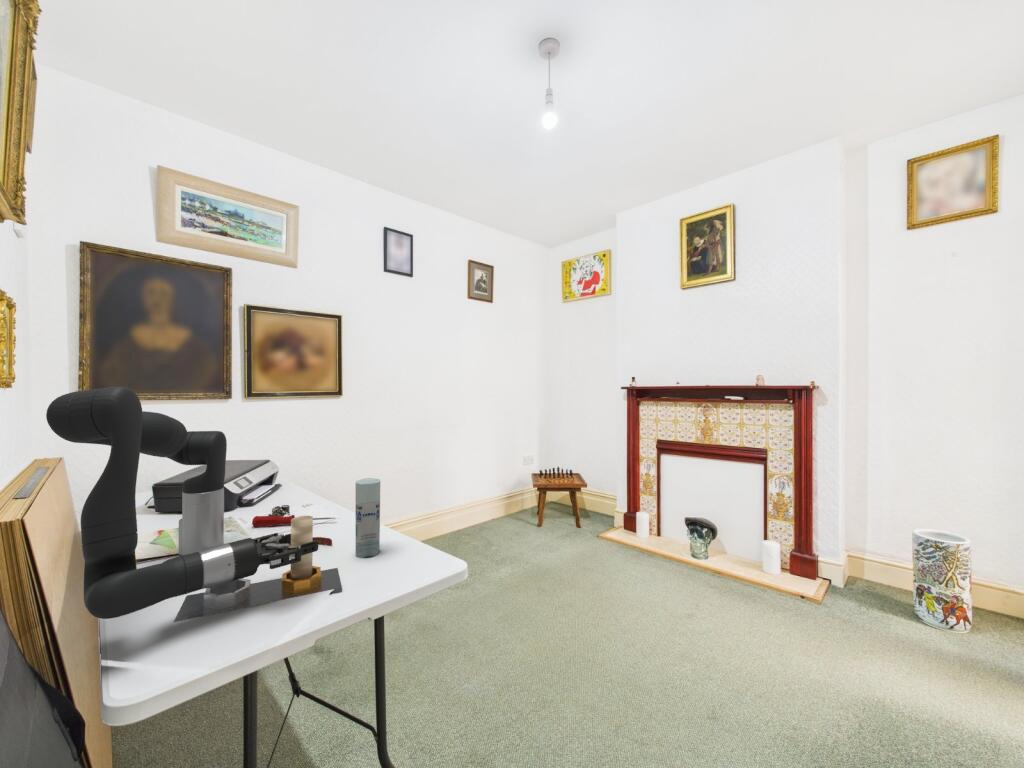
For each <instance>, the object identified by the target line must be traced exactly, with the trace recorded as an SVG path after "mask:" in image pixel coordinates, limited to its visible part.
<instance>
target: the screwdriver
mask: <svg viewBox="0 0 1024 768" xmlns="http://www.w3.org/2000/svg"><path fill="white" fill-rule="evenodd" d="M295 517H296V516H295V514H291V515H289V516H279V515H256V516H254V517H253V519H252V522H251V525H252V526H253V528H259V527H260V526H264V527H275V526H274V525H276V526H279V525H290V526H291V519H293V518H295ZM332 519H336V517H313V521H318V520H319V521H320V520H332ZM260 528H261V527H260Z"/></svg>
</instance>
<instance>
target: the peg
mask: <svg viewBox="0 0 1024 768" xmlns="http://www.w3.org/2000/svg"><path fill="white" fill-rule="evenodd" d="M313 518H314V517H313V516H311V515H300V516H295V518H293V519H291V525H290V534H291V546H293V545H301V544H304V543H308V542H312V541H313V533H314V532H313V530H314V526H313V525H314V522H313V521H314V520H313ZM291 555H293V554H291ZM312 566H313V552H312V553H309V554H305V555H302V556H301V561H299V562H296V563H292V564H290V570H291V580H301V579H306V578H310V577H311V576H312Z"/></svg>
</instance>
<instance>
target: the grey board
mask: <svg viewBox="0 0 1024 768" xmlns="http://www.w3.org/2000/svg"><path fill="white" fill-rule="evenodd" d="M281 575H282V577H281V578H274V579H270V580H264V581H260V582H259V581H257V582H253V583H251V579H248V578H242V579H238V580H235V581H232V582H229V583H225V584H222V585H219V586H215V587H210V588H205V591H204V592H199V593H194V594H190V595H189V594H188V595H187V594H186V596H185V598H184V600H183V602H182V604H181V606H180V608H179V610H178V612H177V614H176V617H175V618H174V620H173V623H176V622H181V621H186V620H190V619H195V618H196V619H197V618H200V617H201V618H202V617H205V616H211V615H215V614H219V613H225V612H229V611H231V612H232V611H235V610H240V609H243V608H244V609H245V608H249V607H254V606H255V607H256V606H259V605H264V604H269V603H273V602H274V603H275V602H279V601H284V600H290V599H292V598H298V597H303V596H308V595H312V594H317V593H321V592H328V591H330V593H329V595H333V594H337V593H342V592H343V586H342V582H341V577H340V573H339V568H338V567H335V568H330V569H325V570H324V569H323V570H322V569H321V566H316V565H312V576H311V577H310V578H306V579H301V580H291V569H289V570H288V571H286V572H284V573H282V574H281Z"/></svg>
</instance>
